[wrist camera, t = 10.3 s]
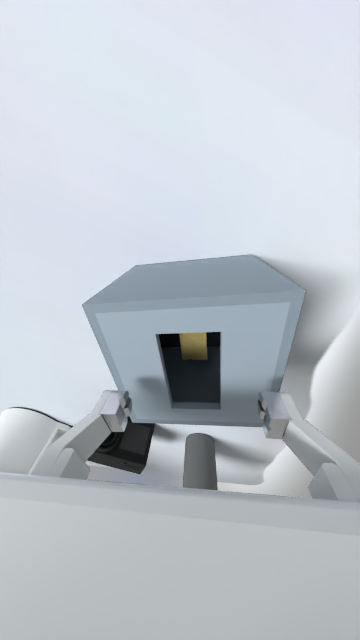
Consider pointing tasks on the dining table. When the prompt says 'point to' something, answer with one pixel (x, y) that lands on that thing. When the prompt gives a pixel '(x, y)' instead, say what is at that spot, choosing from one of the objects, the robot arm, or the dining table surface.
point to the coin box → (193, 317)
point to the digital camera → (126, 447)
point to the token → (193, 346)
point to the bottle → (200, 463)
